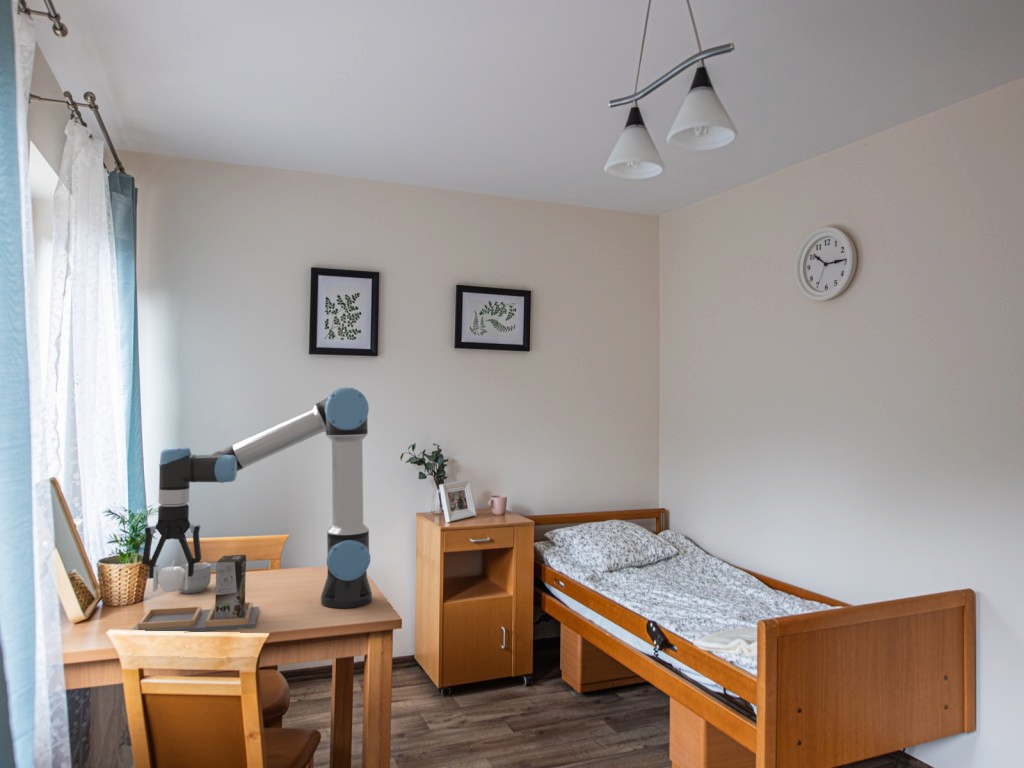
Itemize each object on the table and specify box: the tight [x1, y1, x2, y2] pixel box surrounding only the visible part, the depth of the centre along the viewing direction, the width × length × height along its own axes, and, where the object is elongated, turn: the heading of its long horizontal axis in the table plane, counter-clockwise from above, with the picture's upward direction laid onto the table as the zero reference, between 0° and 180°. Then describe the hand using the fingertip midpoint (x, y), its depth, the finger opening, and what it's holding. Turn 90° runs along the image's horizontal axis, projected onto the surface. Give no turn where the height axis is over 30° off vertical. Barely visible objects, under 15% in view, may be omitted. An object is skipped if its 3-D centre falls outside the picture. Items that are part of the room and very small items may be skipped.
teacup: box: [177, 561, 212, 594], centre depth 232 cm, size 14×11×8 cm
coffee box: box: [214, 554, 247, 620], centre depth 202 cm, size 9×6×16 cm
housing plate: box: [132, 601, 260, 632], centre depth 199 cm, size 30×17×2 cm, turn 105°
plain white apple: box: [157, 559, 185, 593], centre depth 198 cm, size 7×7×8 cm
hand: (171, 589), depth 197 cm, fingers closed on plain white apple, 7 cm apart
